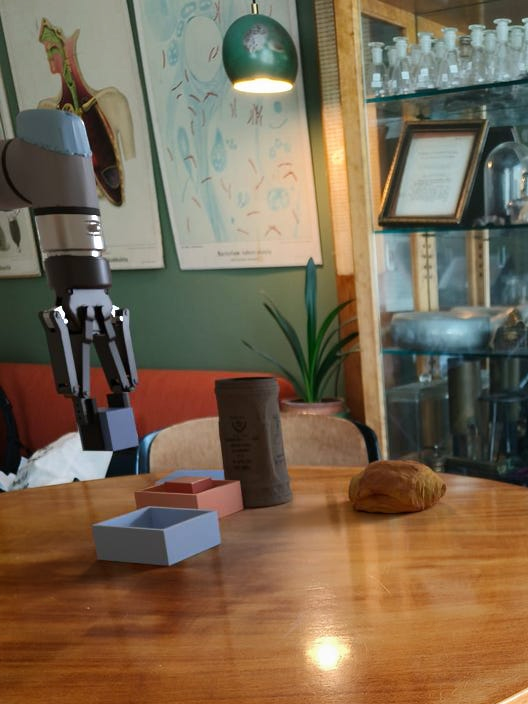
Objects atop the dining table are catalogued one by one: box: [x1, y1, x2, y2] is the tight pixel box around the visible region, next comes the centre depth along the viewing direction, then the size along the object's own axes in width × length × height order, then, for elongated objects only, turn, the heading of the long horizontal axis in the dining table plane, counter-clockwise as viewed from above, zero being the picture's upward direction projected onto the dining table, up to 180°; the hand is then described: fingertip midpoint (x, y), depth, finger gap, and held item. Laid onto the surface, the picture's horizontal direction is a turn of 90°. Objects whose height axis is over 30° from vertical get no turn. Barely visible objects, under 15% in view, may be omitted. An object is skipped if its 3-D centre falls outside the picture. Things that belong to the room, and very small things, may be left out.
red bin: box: [133, 479, 244, 520], centre depth 136 cm, size 11×11×5 cm
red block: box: [164, 476, 213, 494], centre depth 136 cm, size 5×5×5 cm
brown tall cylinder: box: [213, 376, 294, 509], centre depth 145 cm, size 15×11×20 cm
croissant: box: [347, 459, 447, 514], centre depth 139 cm, size 14×16×8 cm
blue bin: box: [90, 506, 222, 567], centre depth 117 cm, size 11×11×5 cm
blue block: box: [76, 407, 140, 452], centre depth 116 cm, size 5×5×5 cm
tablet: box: [154, 469, 225, 485], centre depth 162 cm, size 19×13×1 cm, turn 88°
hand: (110, 445), depth 117 cm, fingers closed on blue block, 5 cm apart
